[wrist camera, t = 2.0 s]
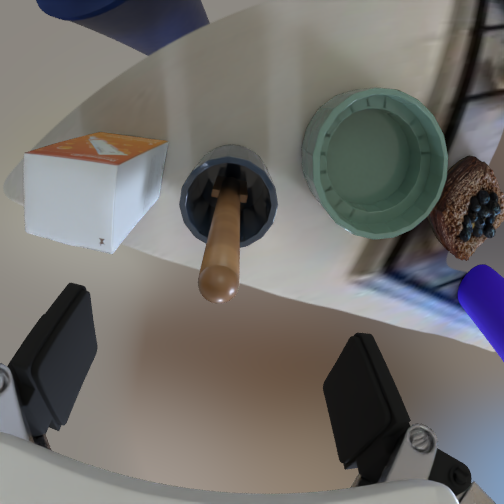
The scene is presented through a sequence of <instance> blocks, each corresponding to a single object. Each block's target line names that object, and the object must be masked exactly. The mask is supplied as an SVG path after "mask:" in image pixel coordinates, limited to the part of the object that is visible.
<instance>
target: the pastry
mask: <svg viewBox="0 0 504 504" xmlns="http://www.w3.org/2000/svg"><path fill="white" fill-rule="evenodd" d="M503 195H504V194H503V193H502V192H500V189H499V185H498V181H497V179H496V177H495V176H494V173H493V170H491V169H490V167H489V166H488V165H487V164H486V163H485V162H481V161H480V160H478V159H477V158H476V157H473V156H467V157H465V158H463V159H461V160H460V161H458V162H457V163H456V164H455V165H454V166H453V167H452V168H451V169H449V170H448V171H447V178H446V182H445V185H444V188H443V191H442V193H441V196H440V199H439V200H438V202H437V203H436V205H435V206H434V208H433V209H432V211H431V212H430V214H429V215H428V220H429V223H430V225H431V227H432V230H433V232H434V234H435V236H436V238H437V239H438V241H439V242H440V243H441V244H442V245H443V246H444V247H445V248H446V249H447V250H448V251H450V253H452V254H453V255H455V257H456V258H459V259H461V260H463V259H465V260H466V261H467V260H469V257H470V256H472V254H473V253H474V252H475V250H476V248H478V247H479V246H480V245H481V244H482V243H483V242H484V241H485V240H486V239H487V238H492V237H494V235H495V232H496V231H495V230H496V228H498V226H500V223H501V222H503V220H504V218H503V217H504V203H503V202H504V199H503Z"/></svg>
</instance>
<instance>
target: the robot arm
mask: <svg viewBox="0 0 504 504" xmlns="http://www.w3.org/2000/svg"><path fill="white" fill-rule="evenodd" d="M96 352H97V341H96V335H95V328H94V321H93V314H92V306H91V298H90V293H89V292H88V291H86V288H85V287H84V286H82V285H78V284H74V283H69V284H68V285H67V286H66V288H65V289H64V290H63V291H62V293H61V294H60V295H59V296H58V298H57V299H56V300H55V302H54V303H53V304H52V305H51V307H50V308H49V309H48V311H47V312H46V314H44V315H43V316H42V317H41V318H40V319H39V320H38V322H37V323H36V325H35V326H34V327H33V329H32V330H31V332H30V333H29V335H28V336H27V337H26V339H25V340H24V342H23V343H22V345H21V347H20V348H19V349H18V351H17V352H16V354H15V355H14V357H13V358H12V360H11V361H10V363H9V365H8V366H5V365H4V364H2V363H0V504H496V503H495V502H494V501H493V500H492V499H491V498H490V497H489V496H488V495H487V494H486V493H485V492H484V491H483V490H482V489H481V488H480V487H479V486H478V485H477V484H476V483H475V482H472V483H471V473H470V470H469V469H468V467H467V466H466V465H465V464H463V463H462V462H460V461H458V460H457V459H455V458H453V457H451V456H450V455H448V454H446V453H444V452H443V451H441V450H439V449H438V448H437V447H438V441H437V437H436V435H435V433H434V432H433V431H432V429H431V428H429V427H428V426H426V425H423V424H413V425H412V426H410V424H409V422H410V421H411V420H410V418H409V415H408V413H407V411H406V408H405V406H404V403H403V401H402V399H401V396H400V394H399V392H398V390H397V387H396V385H395V383H394V381H393V378H392V376H391V374H390V372H389V369H388V367H387V365H386V363H385V361H384V359H383V356H382V354H381V352H380V350H379V348H378V346H377V344H376V342H375V340H374V337H373V336H372V335H371V334H366V333H356V334H355V335H354V336H352V337H350V338H349V340H348V342H347V344H346V346H345V347H344V349H343V351H342V353H341V354H340V356H339V358H338V360H337V362H336V363H335V365H334V366H333V368H332V370H331V371H330V373H329V375H328V376H327V378H326V380H325V382H324V384H323V391H324V395H325V400H326V403H327V408H328V412H329V417H330V421H331V425H332V429H333V434H334V438H335V442H336V447H337V452H338V456H339V460H340V462H341V463H343V464H344V469H352V468H358V471H359V474H358V476H357V477H356V479H355V481H354V482H353V484H352V486H351V487H350V488H346V489H338V490H330V491H320V492H308V493H289V494H247V493H246V494H245V493H228V492H215V491H206V490H198V489H190V488H183V487H177V486H170V485H166V484H160V483H155V482H150V481H146V480H141V479H137V478H133V477H129V476H125V475H122V474H118V473H115V472H111V471H108V470H105V469H101V468H98V467H95V466H92V465H89V464H86V463H83V462H80V461H77V460H75V459H72V458H69V457H67V456H64V455H61V454H59V453H56V452H54V451H52V450H51V448H50V445H49V443H48V440H47V437H46V432H47V430H48V427H50V428H52V429H55V430H57V431H59V430H60V427H61V425H65V424H66V423H67V420H68V418H69V415H70V413H71V410H72V408H73V405H74V403H75V401H76V398H77V396H78V393H79V391H80V389H81V386H82V384H83V382H84V379H85V377H86V375H87V373H88V371H89V368H90V366H91V364H92V362H93V360H94V357H95V355H96Z"/></svg>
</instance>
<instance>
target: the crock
mask: <svg viewBox="0 0 504 504" xmlns="http://www.w3.org/2000/svg"><path fill="white" fill-rule="evenodd" d="M217 176H220V177H226V178H228V177H234V178H236V179H237V180H241V181H246V182H247V193H248V197H247V202H246V203H242V202H240V248H241V247H246V246H248V245H250V244H252V243H253V242H255V241H257V240H258V239H260V238H262V237H263V236H264V234H265V233H266V232H267V231H268V229H269V228H270V227H271V225H272V224H273V222H274V219H275V215H276V211H277V207H278V203H277V196H276V190H275V186H274V184H273V181H272V179H271V177H270V174H269V172H268V169H267V167H266V166H265V164H264V162H263V161H262V159H261V158H260V157H259V156H258V155H257V154H256V153H255V152H253V151H252V150H250V149H248V148H246V147H243V146H240V145H224V146H220V147H217V148H215V149H213V150H212V151H210V152H209V153H207V154H206V155H205V156H204V157H203V158H202V159H201V160H200V162H199V163H198V164H197V165H196V167H195V168H194V169H193V171H192V172H191V173H190V175H189V177H188V178H187V180H186V181H185V183H184V185H183V186H182V190H181V197H180V204H179V205H180V210H181V214H182V217H183V221H184V223H185V225H186V226H187V227H188V229H189V230H190V231H191V232H192V234H193V235H194V236H195V237H196V238H198V239H199V240H201V241H203V242H204V243H206V244H207V239H208V235H209V231H210V227H211V223H212V219H213V215H214V211H215V207H216V203H217V199H218V198H216V197H212V196H211V194H212V189H213V186H214V183H215V181H216V178H217Z"/></svg>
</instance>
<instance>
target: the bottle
mask: <svg viewBox="0 0 504 504" xmlns="http://www.w3.org/2000/svg"><path fill="white" fill-rule="evenodd" d="M458 300H459V302H460V304H461V306H462V307H463V309H464V310H465V311H466V312H467V314H468V315H469V316H470V318H471V319H472V320H473V322H474V323H475V324H476V325H477V327H478V328H479V329H480V331H481V332H482V333H483V335H484V336H485V337H486V339H487V340H488V341H489V343H490V344H491V345H492V347H493V348H494V349H495V351H496V352H497V353H498V355H499V356H500V357H501V359H502V360H503V362H504V278H503V277H502V276H501V275H499V274H498V273H497V272H496V271H494V270H493V269H492V268H491V267H489V266H487V265H483V264H482V265H477V266H475V267H474V268H472V269H471V270H470V271H469V272H468V273H467V274H466V275H465V277H464V278H463V280H462V281H461V284H460V286H459V289H458Z"/></svg>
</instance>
